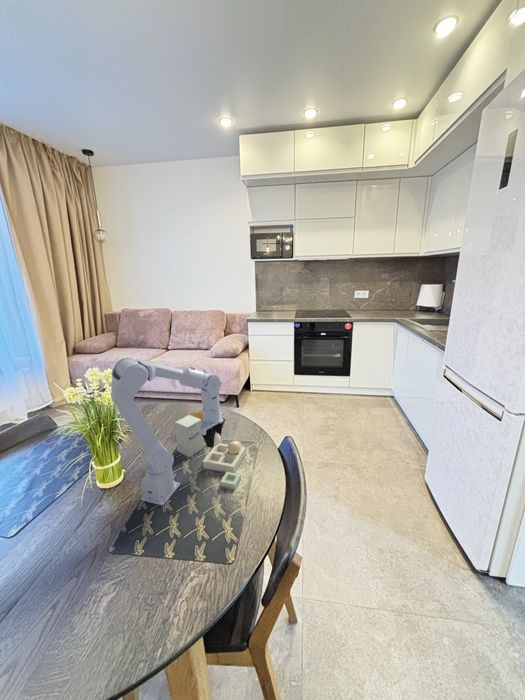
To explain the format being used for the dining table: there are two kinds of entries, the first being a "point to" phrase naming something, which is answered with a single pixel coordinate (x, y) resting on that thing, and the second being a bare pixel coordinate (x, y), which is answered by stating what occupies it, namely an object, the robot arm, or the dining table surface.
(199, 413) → the potato
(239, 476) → the mint square frame
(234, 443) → the brown egg
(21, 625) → the dining table surface
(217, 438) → the cream egg
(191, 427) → the supplement box
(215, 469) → the carton
